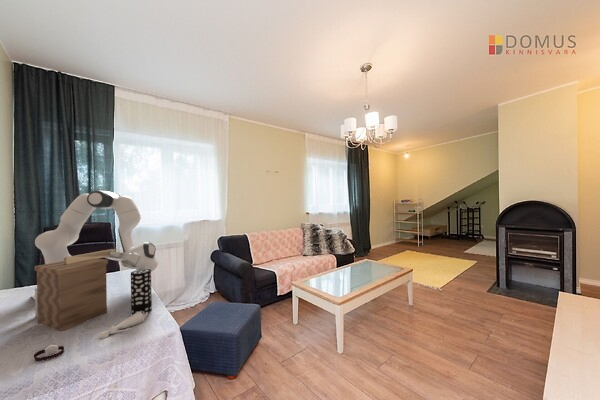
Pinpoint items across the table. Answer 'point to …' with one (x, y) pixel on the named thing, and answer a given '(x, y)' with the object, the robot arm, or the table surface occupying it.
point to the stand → (71, 293)
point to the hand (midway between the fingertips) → (107, 252)
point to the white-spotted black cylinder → (141, 291)
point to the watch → (49, 350)
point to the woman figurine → (124, 324)
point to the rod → (87, 256)
